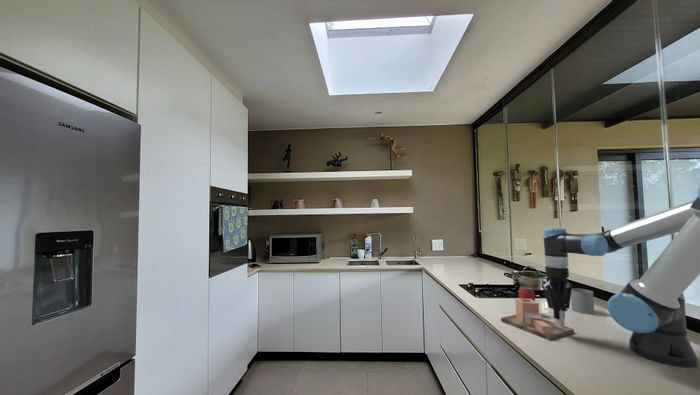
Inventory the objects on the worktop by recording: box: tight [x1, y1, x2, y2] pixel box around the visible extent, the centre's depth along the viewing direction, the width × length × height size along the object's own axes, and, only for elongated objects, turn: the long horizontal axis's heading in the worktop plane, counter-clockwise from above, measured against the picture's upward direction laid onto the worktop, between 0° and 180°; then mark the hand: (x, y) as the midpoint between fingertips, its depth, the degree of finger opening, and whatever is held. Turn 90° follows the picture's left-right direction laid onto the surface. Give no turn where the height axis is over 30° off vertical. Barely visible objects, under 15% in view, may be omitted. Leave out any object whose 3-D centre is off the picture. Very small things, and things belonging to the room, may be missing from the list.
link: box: [515, 297, 551, 334], centre depth 114 cm, size 18×6×8 cm, turn 172°
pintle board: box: [500, 314, 575, 341], centre depth 115 cm, size 20×16×8 cm
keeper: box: [524, 311, 543, 326], centre depth 112 cm, size 3×5×7 cm, turn 68°
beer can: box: [518, 285, 536, 302], centre depth 132 cm, size 7×7×12 cm
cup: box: [570, 287, 595, 315], centre depth 135 cm, size 8×8×10 cm
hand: (559, 326), depth 108 cm, fingers closed
